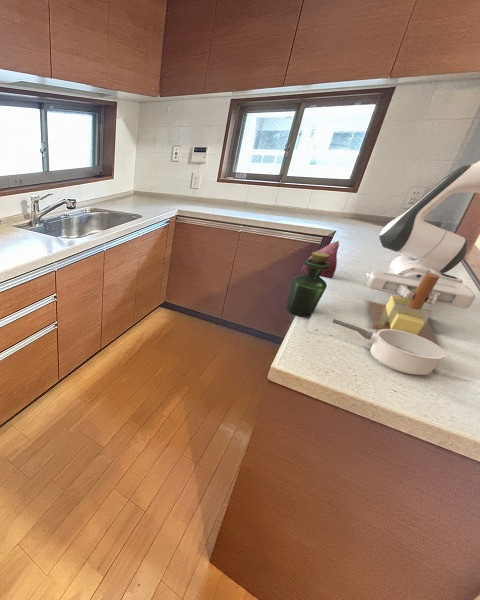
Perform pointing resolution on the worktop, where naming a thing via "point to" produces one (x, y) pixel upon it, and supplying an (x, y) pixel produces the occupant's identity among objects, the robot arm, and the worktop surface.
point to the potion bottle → (308, 287)
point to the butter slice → (407, 323)
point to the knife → (417, 300)
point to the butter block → (394, 300)
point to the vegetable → (327, 260)
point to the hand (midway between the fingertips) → (420, 298)
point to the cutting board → (378, 323)
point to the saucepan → (398, 358)
